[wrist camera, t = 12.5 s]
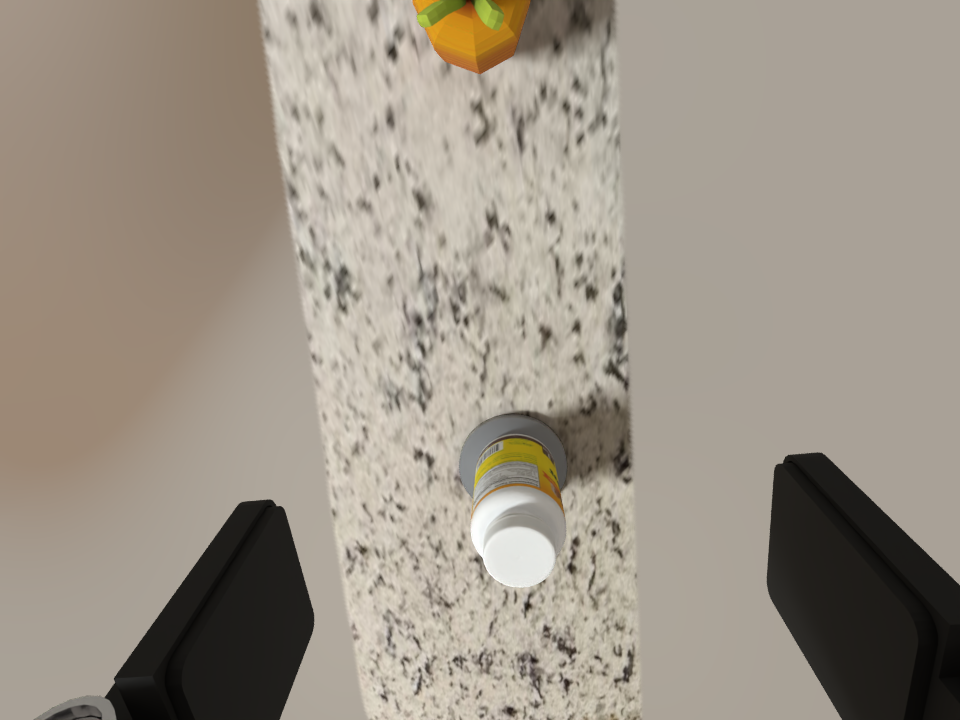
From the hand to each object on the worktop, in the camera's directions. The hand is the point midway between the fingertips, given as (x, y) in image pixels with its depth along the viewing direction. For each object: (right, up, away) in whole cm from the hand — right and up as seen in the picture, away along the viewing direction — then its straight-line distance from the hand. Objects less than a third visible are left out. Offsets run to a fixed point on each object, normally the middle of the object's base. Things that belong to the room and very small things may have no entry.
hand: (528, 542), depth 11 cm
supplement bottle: (+2, -4, +30) cm, 30 cm away
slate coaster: (+1, -4, +31) cm, 31 cm away
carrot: (-1, +22, +22) cm, 31 cm away
